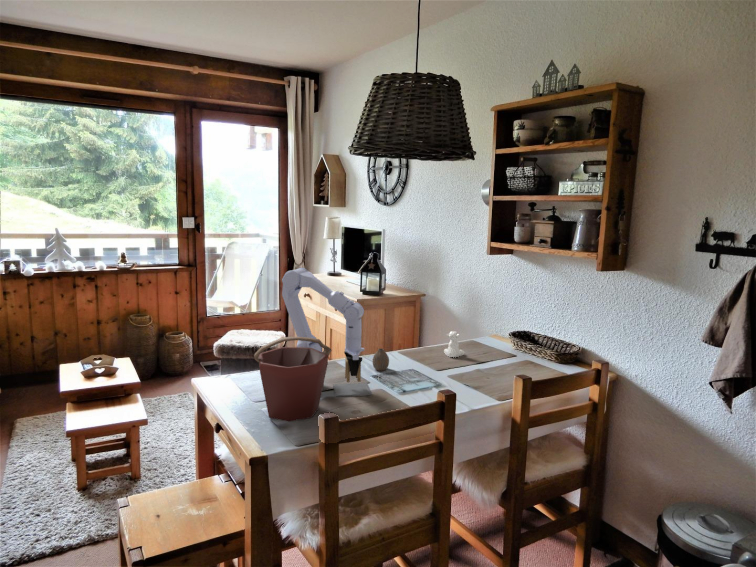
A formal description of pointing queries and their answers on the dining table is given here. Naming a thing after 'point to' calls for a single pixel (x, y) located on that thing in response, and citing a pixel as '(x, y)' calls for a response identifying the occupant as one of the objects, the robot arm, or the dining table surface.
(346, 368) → the stool
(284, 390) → the bucket
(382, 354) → the vase
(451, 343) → the seated beast figurine
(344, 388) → the mat
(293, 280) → the robot arm
